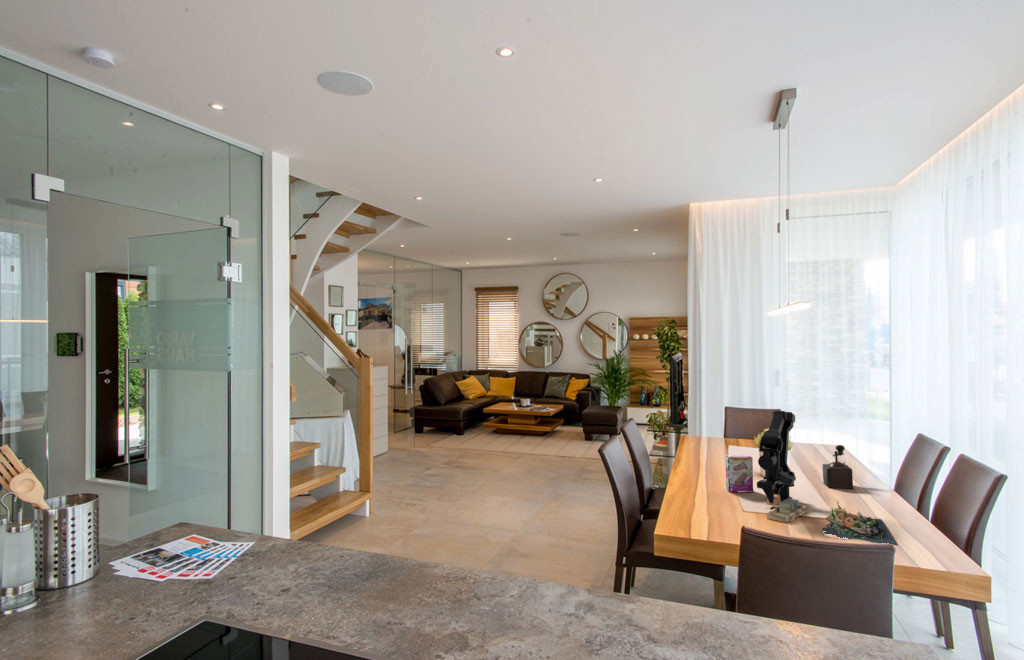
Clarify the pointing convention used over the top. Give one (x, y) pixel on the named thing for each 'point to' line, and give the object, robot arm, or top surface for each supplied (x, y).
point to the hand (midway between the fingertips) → (773, 502)
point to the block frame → (786, 510)
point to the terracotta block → (775, 501)
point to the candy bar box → (739, 473)
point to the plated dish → (857, 527)
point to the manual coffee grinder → (837, 472)
